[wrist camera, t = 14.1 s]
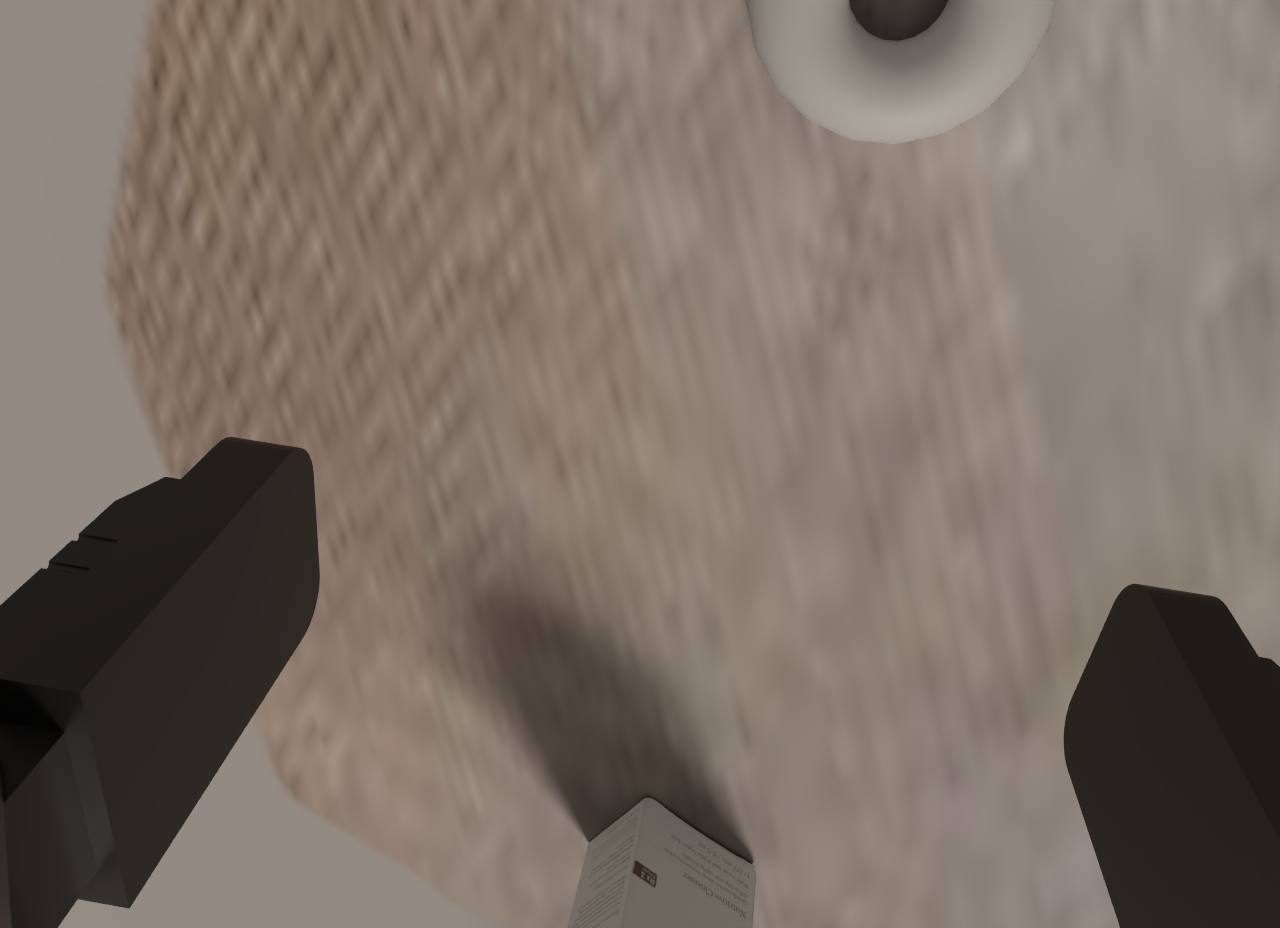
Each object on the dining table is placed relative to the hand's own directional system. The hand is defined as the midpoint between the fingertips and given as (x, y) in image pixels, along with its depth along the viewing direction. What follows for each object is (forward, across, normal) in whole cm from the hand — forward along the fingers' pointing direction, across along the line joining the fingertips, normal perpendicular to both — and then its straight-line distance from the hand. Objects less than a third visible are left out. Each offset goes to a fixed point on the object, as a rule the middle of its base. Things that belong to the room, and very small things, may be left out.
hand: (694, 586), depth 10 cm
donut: (+31, -4, -4) cm, 31 cm away
